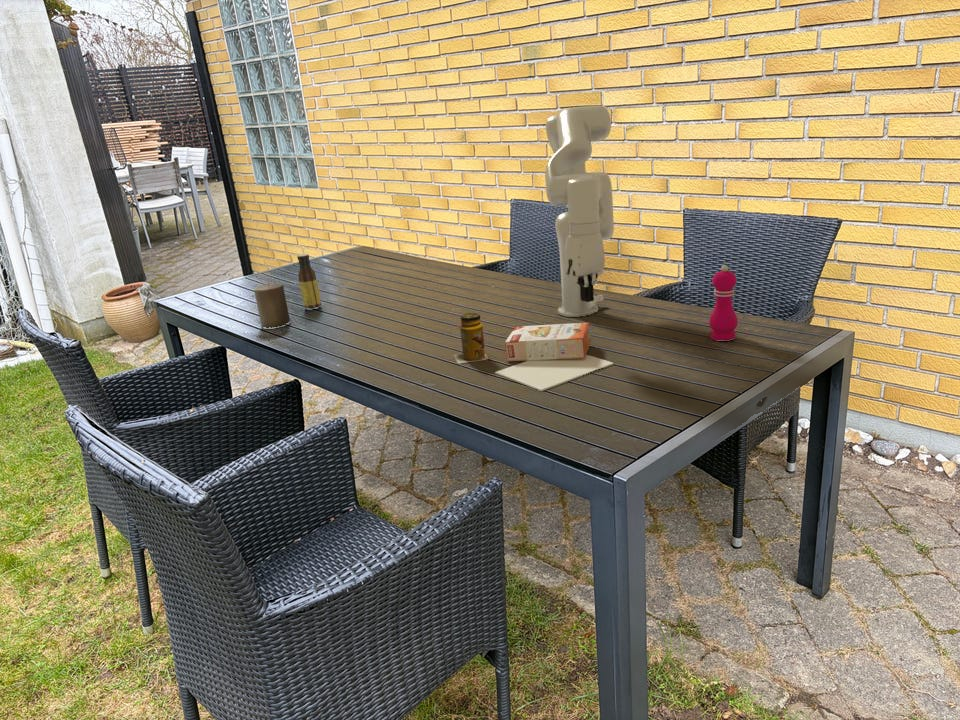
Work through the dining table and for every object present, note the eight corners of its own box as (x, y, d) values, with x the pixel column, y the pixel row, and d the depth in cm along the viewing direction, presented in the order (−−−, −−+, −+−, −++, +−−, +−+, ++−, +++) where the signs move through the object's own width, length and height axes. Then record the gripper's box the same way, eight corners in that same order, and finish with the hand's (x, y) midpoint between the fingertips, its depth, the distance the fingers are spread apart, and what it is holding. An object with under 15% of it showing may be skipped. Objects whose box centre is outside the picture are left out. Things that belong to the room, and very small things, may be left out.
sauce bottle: (317, 305, 270) (308, 252, 264) (325, 307, 266) (316, 253, 259) (301, 309, 267) (291, 255, 260) (309, 312, 262) (299, 257, 255)
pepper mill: (738, 335, 198) (741, 262, 191) (735, 343, 192) (737, 268, 185) (711, 333, 201) (712, 261, 194) (706, 342, 195) (708, 268, 188)
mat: (565, 349, 199) (565, 348, 199) (613, 364, 185) (613, 362, 185) (495, 373, 186) (495, 372, 186) (541, 391, 172) (541, 389, 172)
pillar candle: (296, 323, 249) (288, 280, 244) (271, 331, 242) (262, 287, 237) (280, 320, 255) (272, 278, 251) (255, 327, 249) (247, 284, 244)
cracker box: (583, 336, 186) (503, 341, 191) (586, 358, 188) (506, 363, 193) (589, 320, 199) (514, 325, 204) (591, 341, 200) (516, 346, 206)
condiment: (489, 359, 197) (485, 316, 193) (458, 364, 195) (453, 321, 191) (483, 351, 204) (479, 310, 200) (453, 356, 202) (448, 314, 198)
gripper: (595, 222, 188) (597, 292, 194) (551, 232, 180) (555, 304, 186) (616, 225, 182) (618, 296, 188) (572, 235, 174) (575, 309, 180)
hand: (587, 300), depth 187 cm, fingers closed
